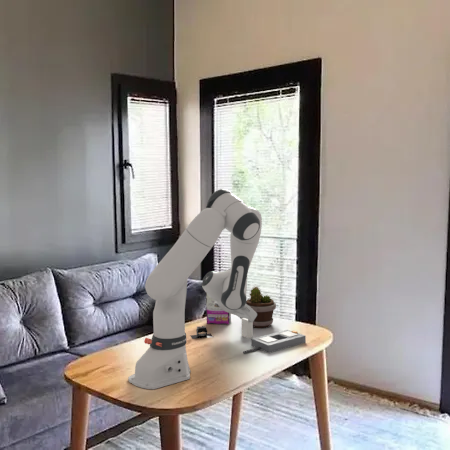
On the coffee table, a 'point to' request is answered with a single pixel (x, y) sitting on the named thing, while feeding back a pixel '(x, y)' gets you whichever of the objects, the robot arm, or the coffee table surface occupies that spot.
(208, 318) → the candy bar box
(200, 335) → the black boxy piece
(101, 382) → the coffee table surface
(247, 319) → the plug
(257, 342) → the power strip
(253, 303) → the flowerpot
